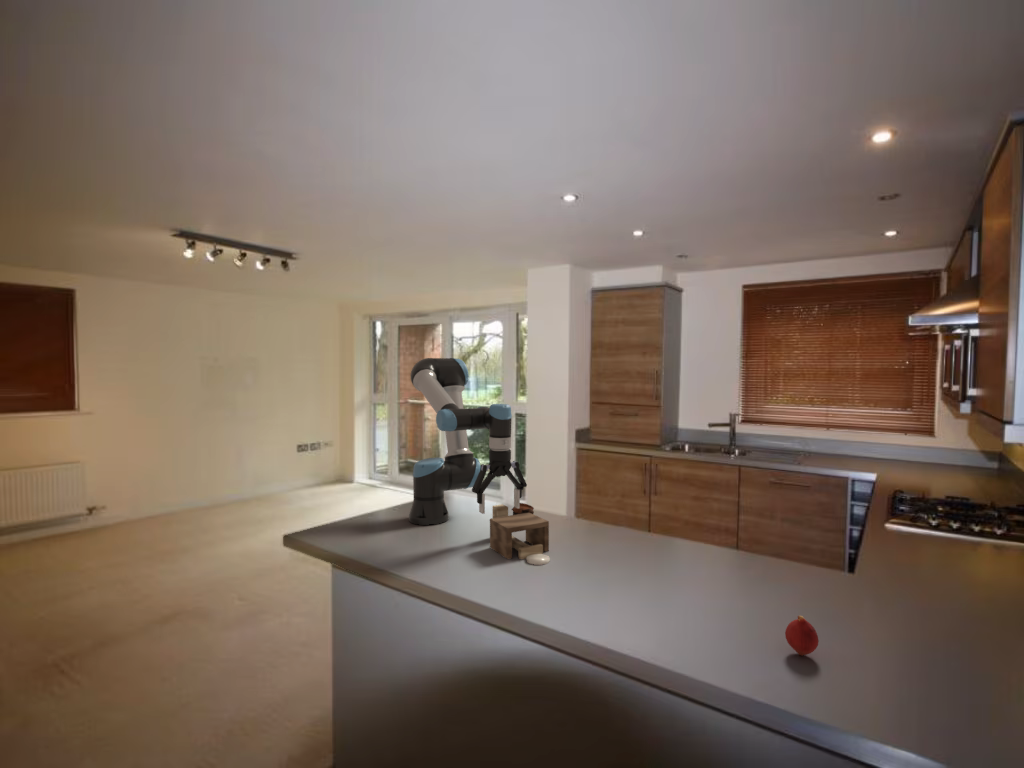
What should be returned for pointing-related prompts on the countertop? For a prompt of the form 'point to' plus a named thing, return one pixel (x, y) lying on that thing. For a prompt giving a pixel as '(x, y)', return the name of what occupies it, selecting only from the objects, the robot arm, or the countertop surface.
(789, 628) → the onion
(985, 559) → the countertop surface
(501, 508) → the wooden mallet
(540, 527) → the walnut bench
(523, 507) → the pottery mug
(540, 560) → the ceramic disc
